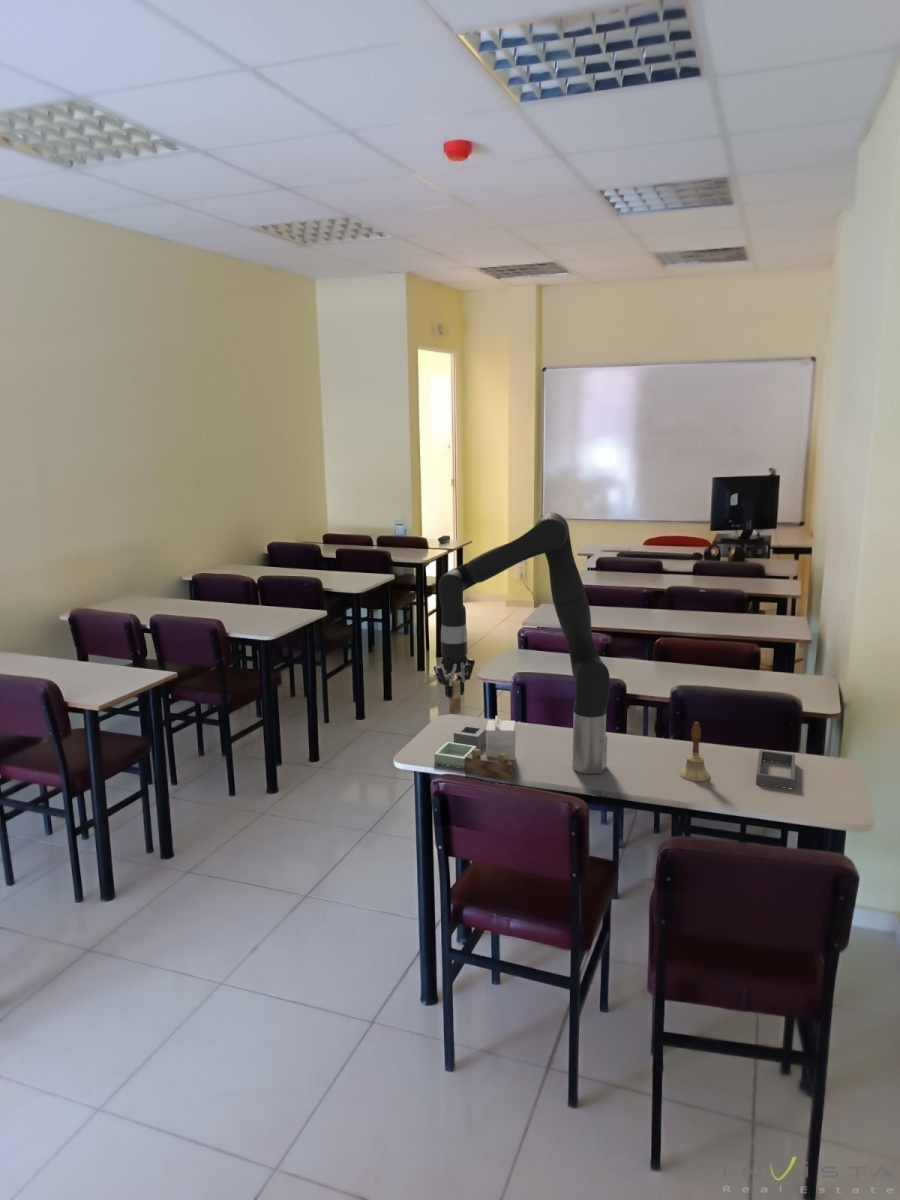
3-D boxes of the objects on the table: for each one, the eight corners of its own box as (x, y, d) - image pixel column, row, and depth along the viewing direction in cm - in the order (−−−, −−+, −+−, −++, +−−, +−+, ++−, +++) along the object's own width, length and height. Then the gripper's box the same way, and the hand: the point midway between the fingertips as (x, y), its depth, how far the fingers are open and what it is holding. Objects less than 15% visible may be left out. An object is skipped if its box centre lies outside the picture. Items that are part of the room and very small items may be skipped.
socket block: (487, 742, 251) (487, 727, 249) (478, 752, 243) (477, 736, 242) (463, 738, 254) (463, 724, 253) (453, 748, 246) (453, 733, 245)
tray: (476, 756, 240) (476, 746, 239) (464, 769, 232) (464, 758, 231) (447, 751, 244) (447, 741, 243) (434, 764, 235) (434, 753, 235)
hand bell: (689, 783, 220) (692, 729, 217) (673, 771, 228) (676, 718, 225) (716, 779, 222) (719, 725, 219) (699, 767, 230) (702, 715, 227)
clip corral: (794, 764, 231) (795, 754, 231) (793, 789, 215) (794, 779, 215) (758, 759, 235) (759, 749, 234) (755, 784, 219) (756, 774, 218)
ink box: (514, 768, 231) (514, 725, 228) (485, 767, 232) (485, 724, 229) (515, 756, 240) (515, 714, 237) (487, 755, 241) (487, 714, 238)
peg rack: (514, 777, 226) (514, 754, 224) (511, 781, 223) (511, 758, 222) (468, 769, 231) (468, 746, 230) (464, 773, 229) (464, 750, 227)
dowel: (463, 712, 234) (462, 680, 232) (454, 715, 232) (453, 682, 230) (455, 709, 237) (455, 677, 235) (446, 712, 235) (446, 679, 233)
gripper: (442, 646, 222) (443, 704, 226) (481, 637, 231) (481, 694, 234) (426, 640, 228) (427, 697, 232) (465, 632, 237) (466, 687, 240)
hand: (454, 695), depth 233 cm, fingers closed on dowel, 3 cm apart
